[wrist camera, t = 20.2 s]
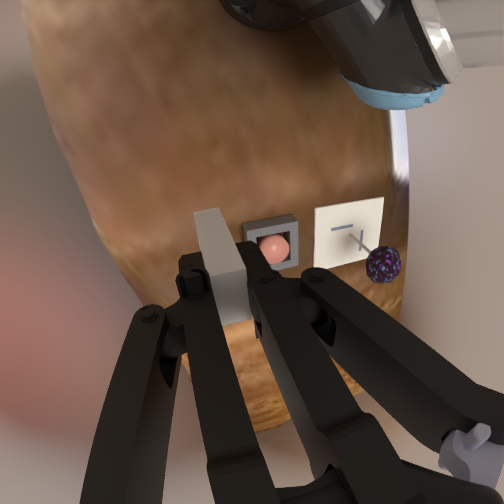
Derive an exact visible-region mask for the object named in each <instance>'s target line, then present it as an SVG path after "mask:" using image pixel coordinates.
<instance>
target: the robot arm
mask: <svg viewBox="0 0 504 504" xmlns="http://www.w3.org/2000/svg"><path fill="white" fill-rule="evenodd" d="M221 3H222V4H223V6H224V8H225V9H226V10H227V11H228V13H229V14H230V15H231V16H233V17H234V18H235V19H236V20H238V21H239V22H241V23H243V24H245V25H247V26H250V27H252V28H256V29H260V30H266V31H278V30H284V29H287V28H290V27H293V26H295V25H297V24H299V23H301V22H302V21H304V20H305V19H306V20H307V22H308V23H309V25H310V26H311V27H312V29H313V30H314V32H315V33H316V34H317V36H318V37H319V39H320V40H321V42H322V43H323V45H324V46H325V48H326V49H327V51H328V52H329V54H330V55H331V57H332V58H333V60H334V62H335V63H336V65H337V66H338V68H339V70H340V74H341V76H342V77H343V79H344V80H346V81H347V82H348V84H349V85H350V87H351V89H352V90H353V92H354V93H355V95H356V96H357V97H358V98H359V99H360V100H361V101H363V102H364V103H366V104H367V105H369V106H372V107H375V108H379V109H385V110H404V109H412V108H417V107H421V106H423V103H432V102H434V101H436V100H437V99H438V98H439V97H440V96H441V95H442V94H443V91H444V85H445V84H450V83H455V81H456V79H457V77H458V75H459V74H460V72H461V71H462V70H463V69H464V68H474V67H487V66H504V0H221ZM193 215H194V221H195V226H196V231H197V236H198V241H199V246H200V252H195V253H191V254H186V255H182V256H181V258H180V260H179V261H178V264H179V274H178V275H177V276H176V280H175V281H176V285H177V288H178V292H179V295H180V299H179V300H178V301H177V302H176V303H175V304H173V305H171V306H170V307H167V308H165V309H163V307H161V306H159V305H155V304H151V305H146V306H144V307H142V308H140V309H139V310H138V311H137V312H136V313H135V315H134V316H133V319H132V322H131V324H130V327H129V330H128V332H127V335H126V338H125V341H124V343H123V346H122V349H121V352H120V355H119V358H118V361H117V363H116V367H115V369H114V372H113V375H112V379H111V382H110V385H109V388H108V391H107V395H106V398H105V401H104V404H103V408H102V411H101V415H100V418H99V422H98V425H97V429H96V433H95V436H94V440H93V445H92V448H91V452H90V456H89V461H88V465H87V470H86V474H85V478H84V483H83V488H82V493H81V498H80V504H162V498H163V488H164V479H165V469H166V461H167V453H168V444H169V437H170V430H171V423H172V416H173V409H174V402H175V395H176V390H177V383H178V377H179V370H180V365H181V359H182V357H181V355H182V354H184V353H186V352H187V353H188V360H189V366H190V372H191V378H192V384H193V390H194V395H195V400H196V406H197V411H198V416H199V421H200V427H201V431H202V436H203V441H204V445H205V450H206V454H207V473H208V477H209V482H210V485H211V489H212V493H213V497H214V501H215V504H504V502H503V499H502V497H501V496H500V494H499V493H498V492H497V491H496V490H495V487H496V484H497V482H498V479H499V476H500V473H501V469H502V466H503V463H504V394H502V393H499V392H497V391H494V390H492V389H488V388H486V387H484V386H481V385H478V384H476V383H475V382H473V381H472V380H471V379H470V378H469V377H467V376H466V375H465V374H464V373H462V372H461V371H460V370H459V369H457V368H456V367H455V366H454V365H452V364H451V363H450V362H449V361H447V360H446V359H445V358H444V357H442V356H441V355H440V354H439V353H437V352H436V351H435V350H434V349H432V348H431V347H430V346H428V345H427V344H426V343H425V342H423V341H422V340H421V339H420V338H418V337H417V336H416V335H414V334H413V333H412V332H410V331H409V330H408V329H407V328H405V327H404V326H403V325H401V324H400V323H399V322H397V321H396V320H395V319H393V318H392V317H391V316H390V315H388V314H387V313H386V312H384V311H383V310H382V309H380V308H379V307H378V306H376V305H375V304H374V303H372V302H371V301H370V300H368V299H367V298H366V297H364V296H363V295H362V294H360V293H359V292H357V291H356V290H355V289H353V288H352V287H351V286H349V285H348V284H347V283H345V282H344V281H343V280H341V279H340V278H338V277H337V276H336V275H334V274H333V273H332V272H330V271H329V270H327V269H325V268H320V267H312V268H308V269H306V270H305V271H303V272H302V274H301V278H285V277H282V276H281V274H280V273H279V272H278V271H276V270H273V269H272V268H271V266H270V265H269V263H268V261H267V260H266V258H265V256H264V255H263V253H262V251H261V249H260V248H259V246H258V244H256V243H255V242H253V241H251V240H250V241H245V242H240V243H234V241H233V238H232V236H231V234H230V232H229V229H228V227H227V225H226V223H225V221H224V218H223V216H222V214H221V212H220V209H219V207H216V208H211V209H206V210H201V211H196V212H193ZM251 312H252V315H253V317H254V324H255V333H256V339H257V338H259V339H260V341H261V344H262V346H263V349H264V351H265V354H266V356H267V359H268V361H269V364H270V366H271V369H272V371H273V374H274V376H275V379H276V381H277V384H278V386H279V389H280V391H281V394H282V396H283V398H284V401H285V403H286V406H287V408H288V411H289V413H290V415H291V418H292V420H293V422H294V425H295V427H296V429H297V432H298V434H299V437H300V439H301V441H302V444H303V446H304V448H305V451H306V453H307V455H308V458H309V461H310V466H311V470H312V473H313V476H314V479H315V480H314V481H313V482H311V483H310V484H308V485H305V486H298V487H285V488H275V487H274V484H273V481H272V478H271V476H270V473H269V470H268V467H267V464H266V462H265V459H264V456H263V454H262V452H261V450H260V447H259V444H258V442H257V439H256V435H255V432H254V429H253V426H252V423H251V420H250V417H249V414H248V411H247V408H246V405H245V402H244V398H243V395H242V392H241V389H240V386H239V382H238V379H237V376H236V372H235V369H234V366H233V362H232V359H231V356H230V352H229V349H228V345H227V342H226V338H225V335H224V331H223V328H222V326H224V325H228V324H232V323H237V322H241V321H245V320H249V319H252V315H251ZM329 355H330V356H331V357H332V358H333V359H334V360H335V361H336V362H337V363H338V364H339V365H340V366H341V367H342V368H343V369H344V370H345V371H346V372H347V373H348V374H349V375H350V376H351V377H352V378H353V379H354V380H355V381H356V382H357V383H358V384H359V385H360V386H361V387H362V388H363V389H364V390H365V391H366V392H367V393H368V394H369V395H371V396H372V397H373V398H374V399H375V400H376V401H377V402H378V403H379V404H380V405H381V406H382V407H383V408H384V409H385V410H386V411H387V412H388V413H389V414H390V415H391V416H392V417H393V418H394V419H395V420H396V421H397V422H399V423H400V424H401V425H402V426H403V427H404V428H405V429H406V430H407V431H408V432H409V433H410V434H411V435H413V437H415V438H416V439H417V440H418V441H419V442H420V443H422V444H423V445H425V446H426V447H428V448H429V449H431V450H432V451H434V452H437V453H439V454H440V455H439V457H440V458H439V461H438V464H439V467H440V468H441V469H443V470H448V471H449V472H450V473H451V474H452V475H453V477H452V476H448V475H445V474H442V473H439V472H436V471H433V470H430V469H427V468H424V467H421V466H418V465H415V464H413V463H410V462H407V461H404V460H402V459H400V458H399V456H398V454H397V453H396V451H395V449H394V448H393V446H392V444H391V442H390V441H389V439H388V437H387V436H386V434H385V432H384V431H383V429H382V427H381V426H380V424H379V422H378V421H377V420H376V418H375V417H374V416H373V415H371V414H370V413H364V412H363V411H362V410H361V409H360V407H359V406H358V404H357V402H356V401H355V399H354V397H353V395H352V394H351V392H350V390H349V388H348V387H347V385H346V383H345V382H344V380H343V378H342V376H341V375H340V373H339V371H338V370H337V368H336V366H335V364H334V363H333V361H332V359H331V358H330V356H329Z"/></svg>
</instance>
